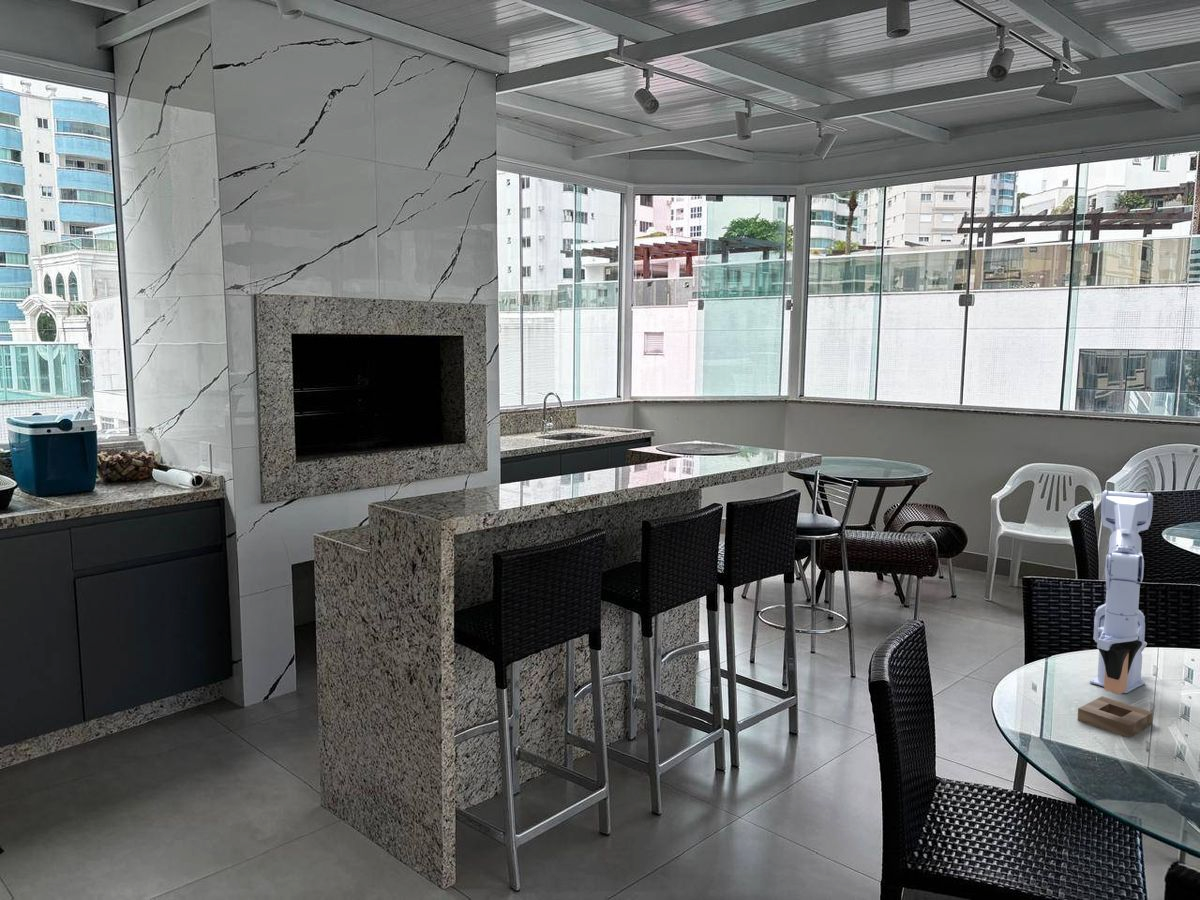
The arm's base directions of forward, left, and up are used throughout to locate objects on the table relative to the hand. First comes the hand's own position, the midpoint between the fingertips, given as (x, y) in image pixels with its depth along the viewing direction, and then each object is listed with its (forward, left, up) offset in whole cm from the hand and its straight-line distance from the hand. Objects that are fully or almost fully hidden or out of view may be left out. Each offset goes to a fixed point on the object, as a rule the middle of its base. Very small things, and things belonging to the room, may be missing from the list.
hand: (1117, 675), depth 178 cm
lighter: (-30, -11, -10) cm, 34 cm away
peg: (0, 0, -3) cm, 3 cm away
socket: (0, 0, -10) cm, 10 cm away
